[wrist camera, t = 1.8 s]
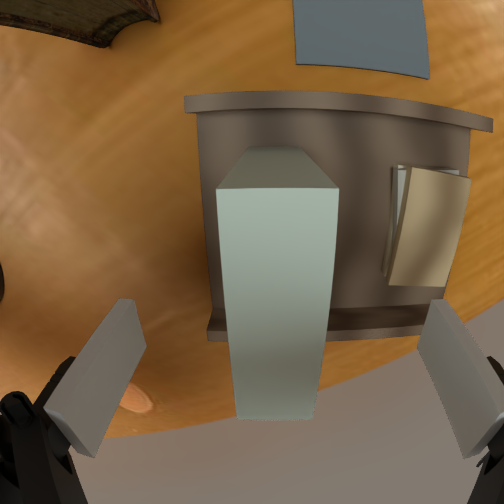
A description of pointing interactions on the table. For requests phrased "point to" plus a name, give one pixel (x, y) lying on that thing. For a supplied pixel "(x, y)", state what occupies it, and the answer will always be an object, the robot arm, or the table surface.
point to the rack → (345, 178)
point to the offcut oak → (427, 227)
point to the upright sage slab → (276, 278)
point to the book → (77, 17)
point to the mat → (362, 35)
